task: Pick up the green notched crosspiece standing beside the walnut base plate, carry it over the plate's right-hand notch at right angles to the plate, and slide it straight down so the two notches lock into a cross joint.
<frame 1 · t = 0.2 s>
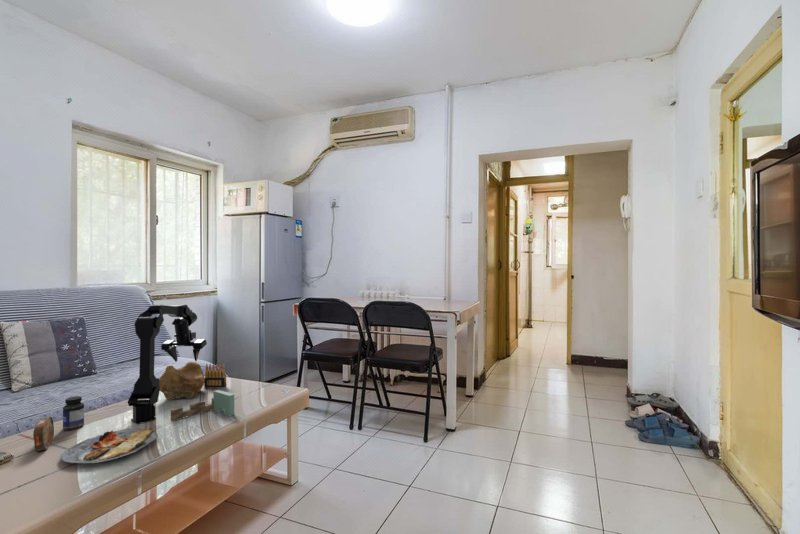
hand: (186, 361, 187), 15 cm above the table, tool pointing down, fingers open, 9 cm apart
food plate: (112, 451, 126), on the table
ammunition clip: (215, 387, 197), on the table
notched base plate: (197, 412, 160), on the table
notched crosspiece: (223, 412, 159), on the table
pill bottle: (73, 428, 146), on the table
brown patterned slab: (43, 446, 130), on the table
rough brown rock: (186, 396, 183), on the table
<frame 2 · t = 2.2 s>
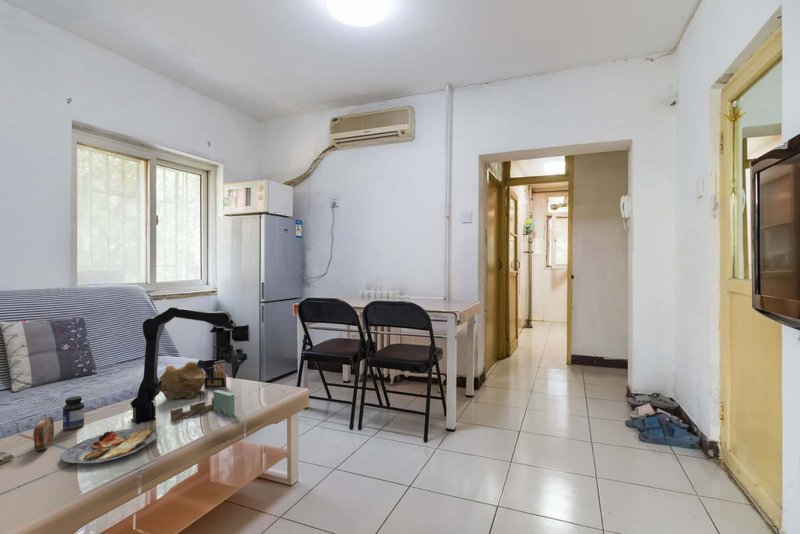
hand: (223, 381, 160), 13 cm above the table, tool pointing down, fingers open, 9 cm apart
nothing on the table moved.
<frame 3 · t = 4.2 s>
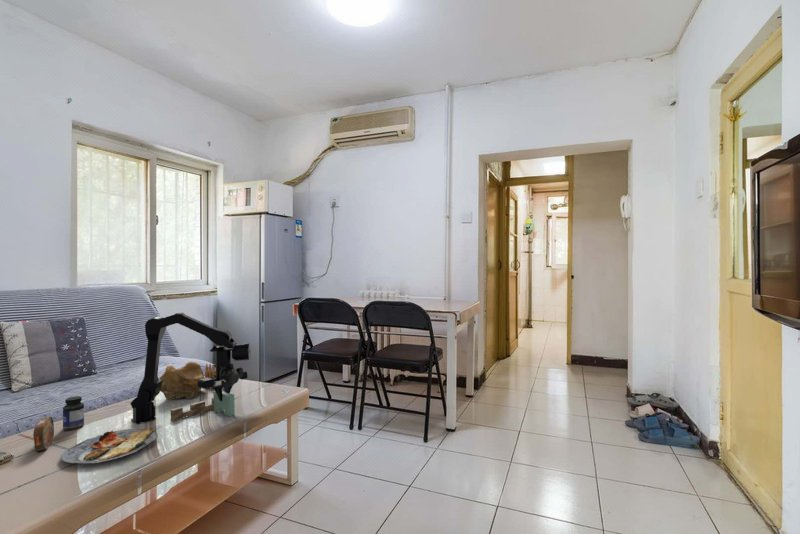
hand: (223, 400, 159), 5 cm above the table, tool pointing down, fingers closed on notched crosspiece, 2 cm apart
notched crosspiece: (223, 412, 159), on the table, touching gripper
everything else where it was.
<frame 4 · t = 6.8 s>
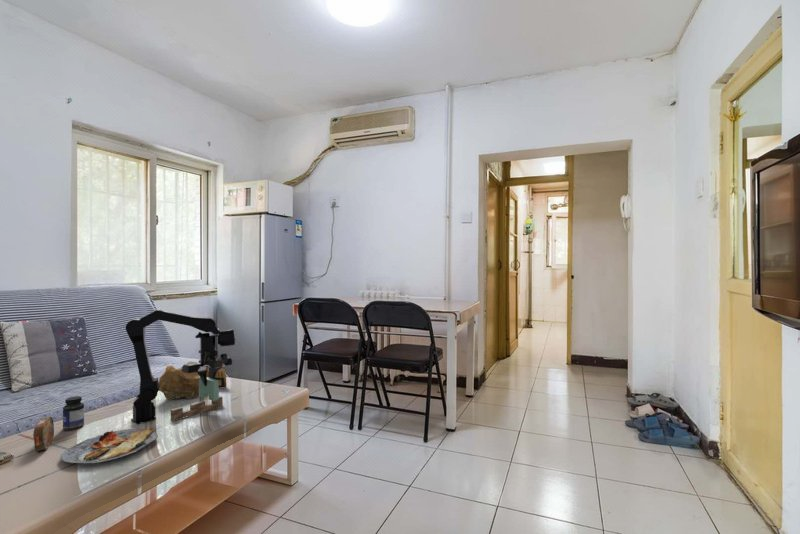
hand: (208, 385, 163), 10 cm above the table, tool pointing down, fingers closed on notched crosspiece
notched crosspiece: (208, 397, 163), point 5 cm above the table, touching gripper
everything else where it was.
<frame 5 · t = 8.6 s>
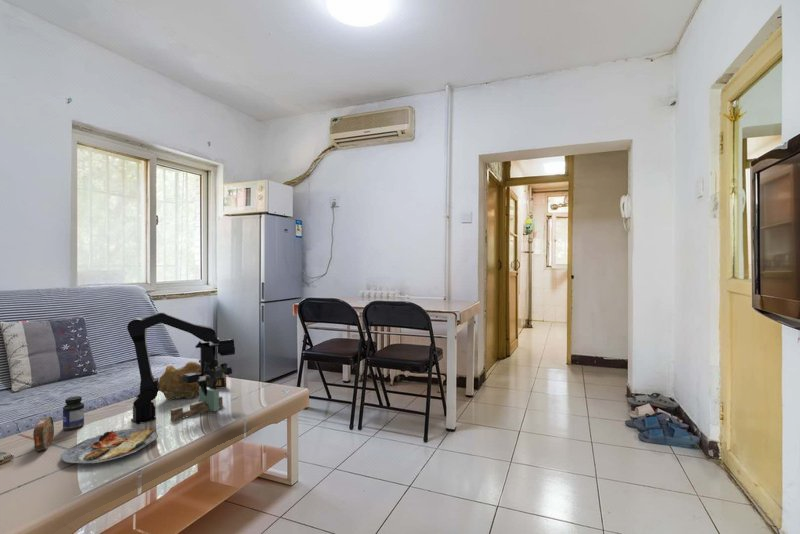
hand: (208, 394, 163), 6 cm above the table, tool pointing down, fingers closed on notched crosspiece, 2 cm apart
notched crosspiece: (208, 408, 163), point 1 cm above the table, touching gripper
everything else where it was.
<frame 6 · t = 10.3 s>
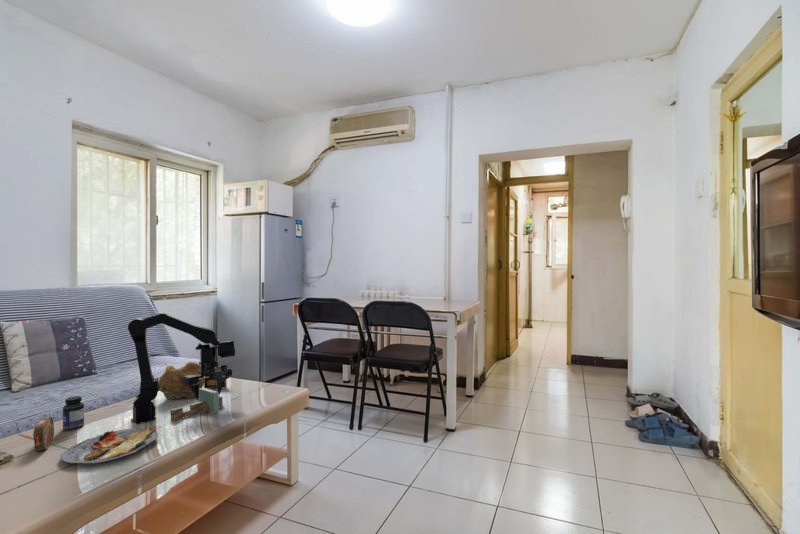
hand: (208, 396, 163), 5 cm above the table, tool pointing down, fingers open, 9 cm apart
notched crosspiece: (208, 409, 163), on the table, touching notched base plate
everything else where it was.
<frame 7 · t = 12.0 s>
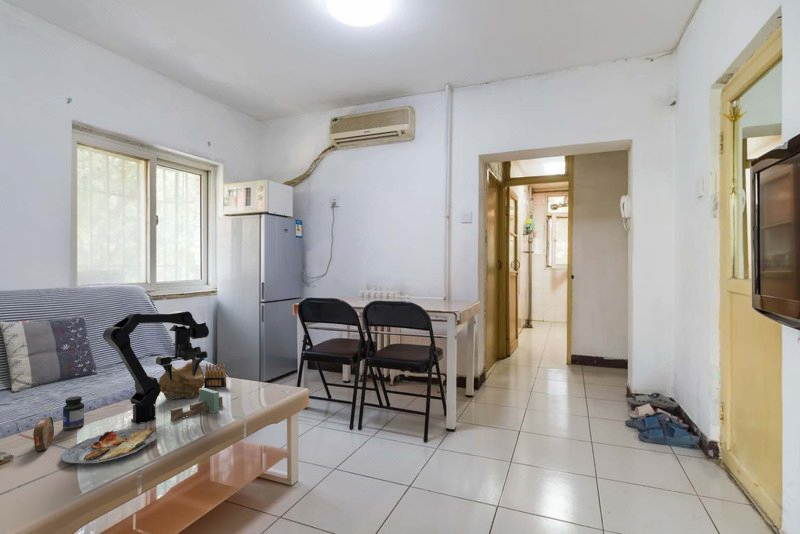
hand: (182, 377, 166), 13 cm above the table, tool pointing down, fingers open, 9 cm apart
nothing on the table moved.
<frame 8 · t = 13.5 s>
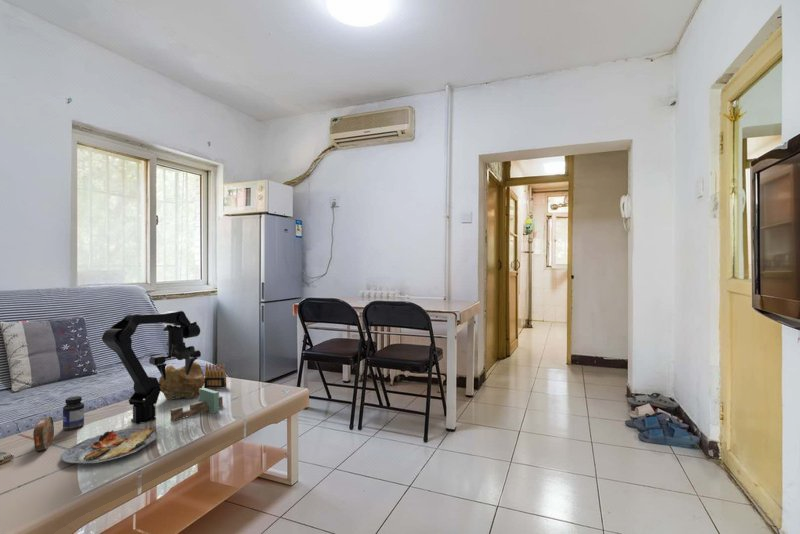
hand: (176, 377, 166), 13 cm above the table, tool pointing down, fingers open, 9 cm apart
nothing on the table moved.
at the end: notched crosspiece 0.2 cm from the target spot on the notched base plate, point 0.0 cm above the notched base plate's base; notched crosspiece tilted 0°; the gripper is holding nothing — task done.
